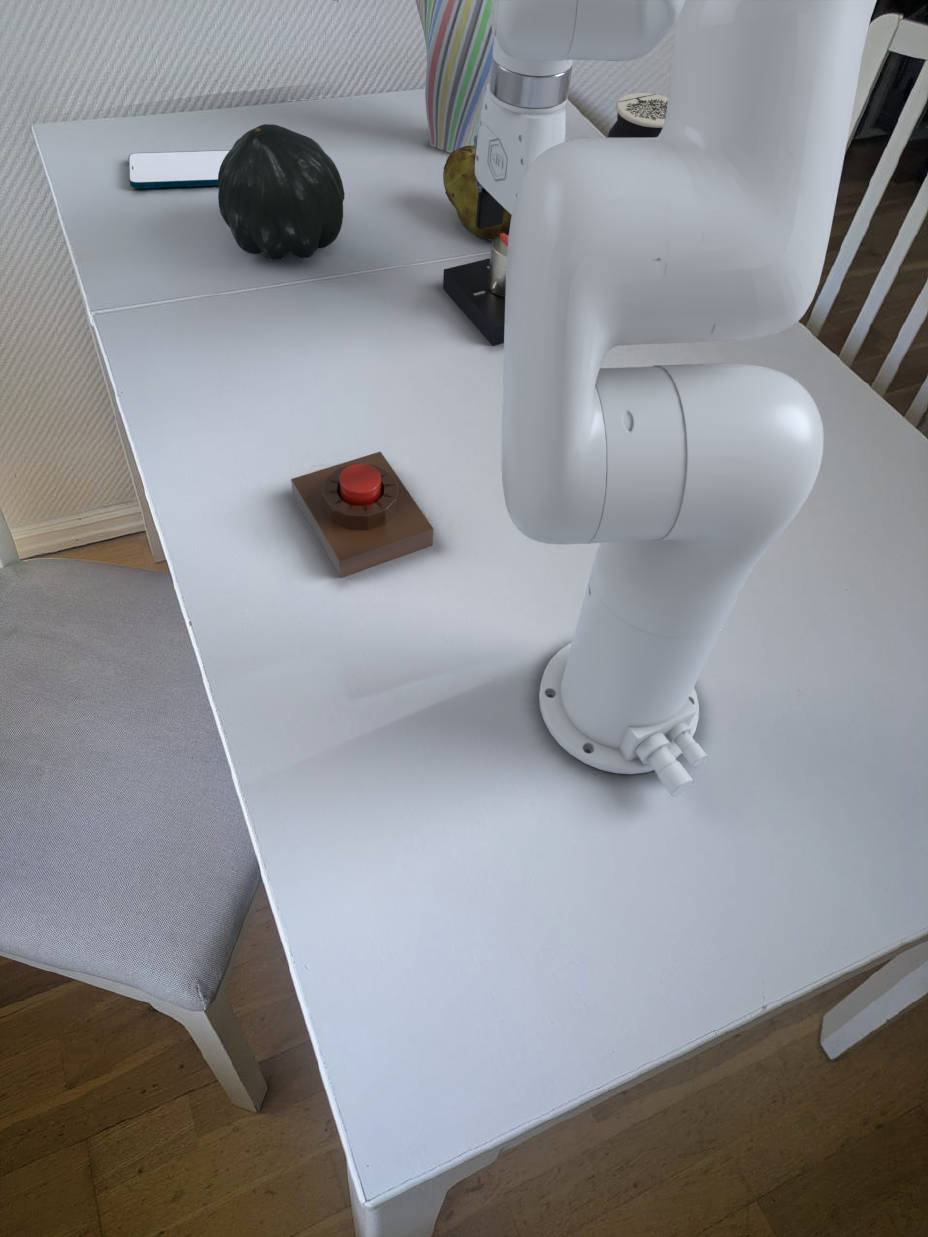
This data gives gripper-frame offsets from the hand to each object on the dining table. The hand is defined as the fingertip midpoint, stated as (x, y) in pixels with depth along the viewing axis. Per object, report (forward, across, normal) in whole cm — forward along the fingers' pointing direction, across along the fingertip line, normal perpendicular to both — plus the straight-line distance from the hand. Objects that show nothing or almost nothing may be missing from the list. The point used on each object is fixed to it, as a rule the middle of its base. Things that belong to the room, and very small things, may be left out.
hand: (510, 247), depth 99 cm
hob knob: (+5, 0, 0) cm, 5 cm away
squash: (+7, -22, -18) cm, 29 cm away
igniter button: (+3, +24, -29) cm, 38 cm away
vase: (+8, -37, +13) cm, 40 cm away
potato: (+7, -17, +6) cm, 19 cm away
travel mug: (+7, -3, +18) cm, 20 cm away
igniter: (+7, +24, -29) cm, 39 cm away
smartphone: (+7, -42, -23) cm, 48 cm away
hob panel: (+7, 0, 0) cm, 7 cm away
